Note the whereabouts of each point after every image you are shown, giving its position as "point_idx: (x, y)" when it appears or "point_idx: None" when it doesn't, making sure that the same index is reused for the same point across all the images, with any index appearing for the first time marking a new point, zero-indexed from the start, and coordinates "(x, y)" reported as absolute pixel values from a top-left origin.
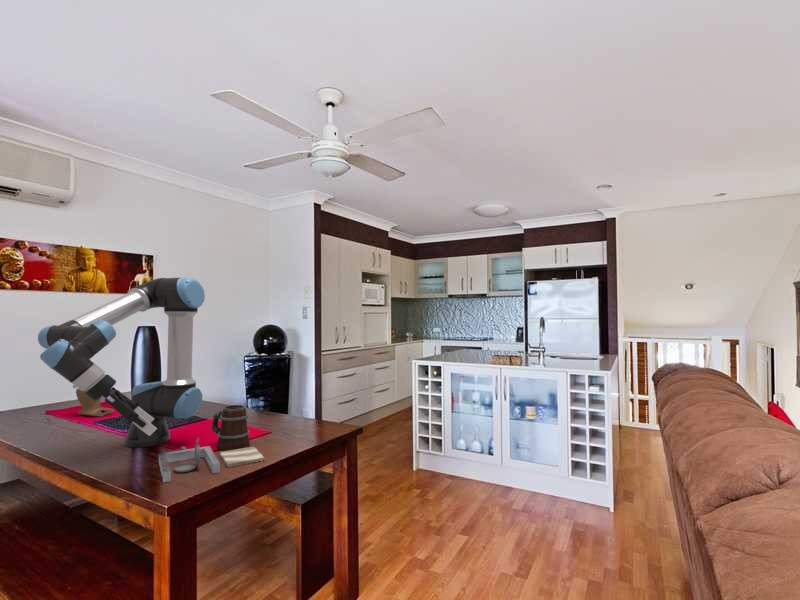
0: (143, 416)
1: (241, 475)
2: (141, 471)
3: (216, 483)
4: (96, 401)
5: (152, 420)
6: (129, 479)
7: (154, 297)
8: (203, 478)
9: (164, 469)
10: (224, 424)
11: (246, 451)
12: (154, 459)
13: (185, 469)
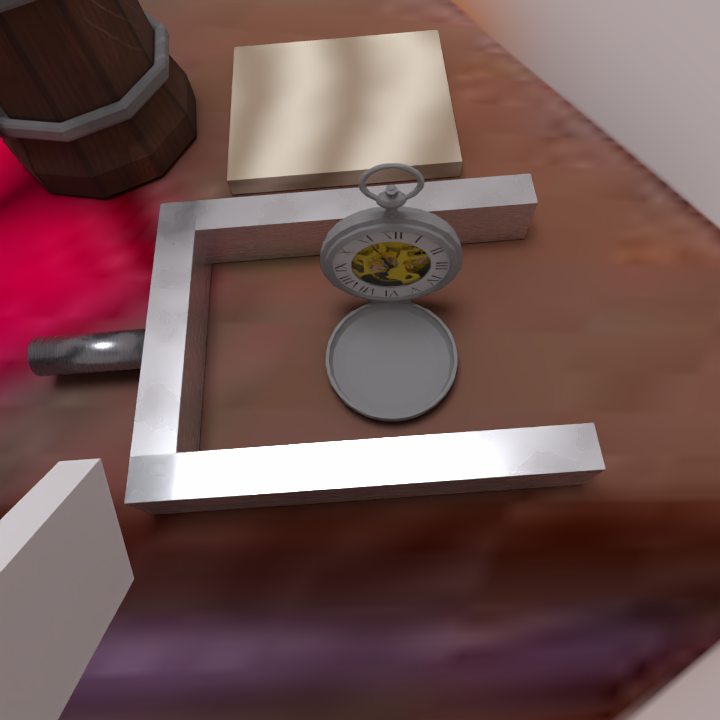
0: (19, 662)
1: (601, 135)
2: (283, 629)
3: (681, 233)
4: None
5: (107, 491)
6: (422, 713)
7: None
8: (583, 282)
9: (534, 462)
10: (56, 30)
11: (298, 79)
12: None
13: (399, 359)
